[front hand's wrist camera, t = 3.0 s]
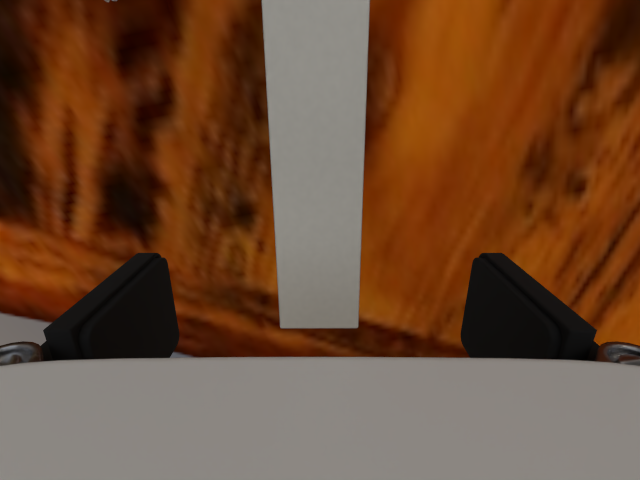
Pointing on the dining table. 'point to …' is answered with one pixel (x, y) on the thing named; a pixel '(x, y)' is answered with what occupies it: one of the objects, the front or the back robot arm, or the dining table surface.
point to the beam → (317, 155)
